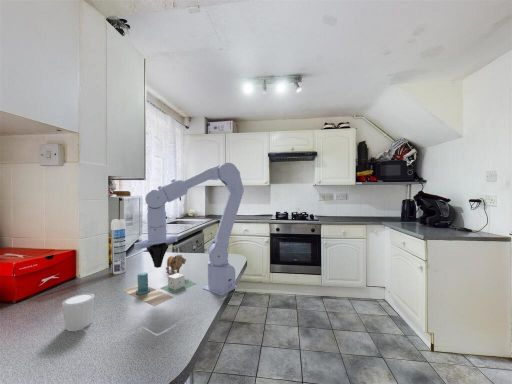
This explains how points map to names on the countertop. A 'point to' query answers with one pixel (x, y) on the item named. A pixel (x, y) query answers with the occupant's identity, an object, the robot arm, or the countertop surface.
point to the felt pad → (187, 284)
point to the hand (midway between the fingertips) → (157, 266)
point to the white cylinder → (78, 311)
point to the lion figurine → (175, 263)
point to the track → (149, 295)
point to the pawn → (142, 284)
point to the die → (176, 281)
